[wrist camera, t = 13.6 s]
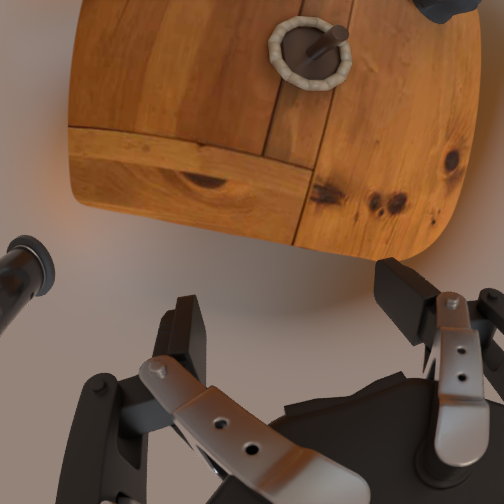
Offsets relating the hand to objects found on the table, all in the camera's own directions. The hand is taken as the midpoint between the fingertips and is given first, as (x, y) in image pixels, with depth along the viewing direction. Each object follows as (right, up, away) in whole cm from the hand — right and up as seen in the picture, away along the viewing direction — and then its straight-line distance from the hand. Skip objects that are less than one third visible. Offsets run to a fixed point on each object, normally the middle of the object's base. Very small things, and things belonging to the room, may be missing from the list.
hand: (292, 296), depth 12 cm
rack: (+6, +28, +18) cm, 34 cm away
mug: (+28, +44, +14) cm, 54 cm away
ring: (+6, +27, +17) cm, 32 cm away
